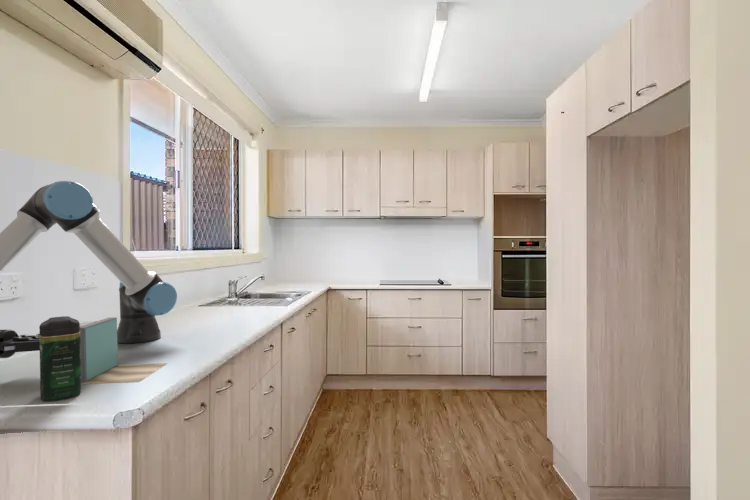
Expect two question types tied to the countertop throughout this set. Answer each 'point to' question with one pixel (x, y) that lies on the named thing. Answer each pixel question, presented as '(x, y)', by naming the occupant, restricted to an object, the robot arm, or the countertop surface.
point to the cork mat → (126, 373)
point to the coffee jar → (60, 358)
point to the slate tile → (98, 348)
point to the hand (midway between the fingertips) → (85, 341)
